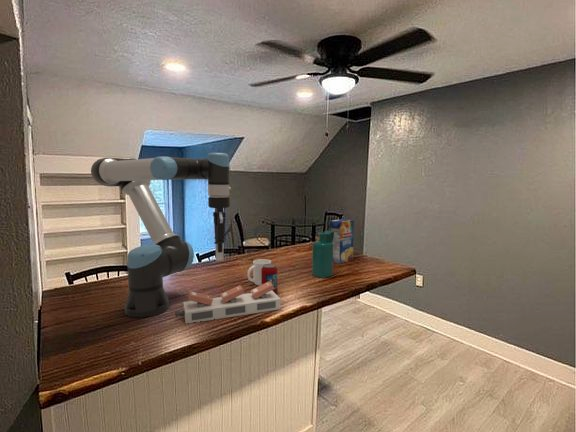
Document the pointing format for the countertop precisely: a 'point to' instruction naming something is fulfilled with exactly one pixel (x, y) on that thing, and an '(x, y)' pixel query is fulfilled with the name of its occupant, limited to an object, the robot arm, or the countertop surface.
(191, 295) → the block
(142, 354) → the countertop surface
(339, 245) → the juice carton
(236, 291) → the rocker
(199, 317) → the power strip
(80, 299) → the countertop surface
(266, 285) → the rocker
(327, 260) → the green bottle
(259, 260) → the mug
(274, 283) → the beverage can
